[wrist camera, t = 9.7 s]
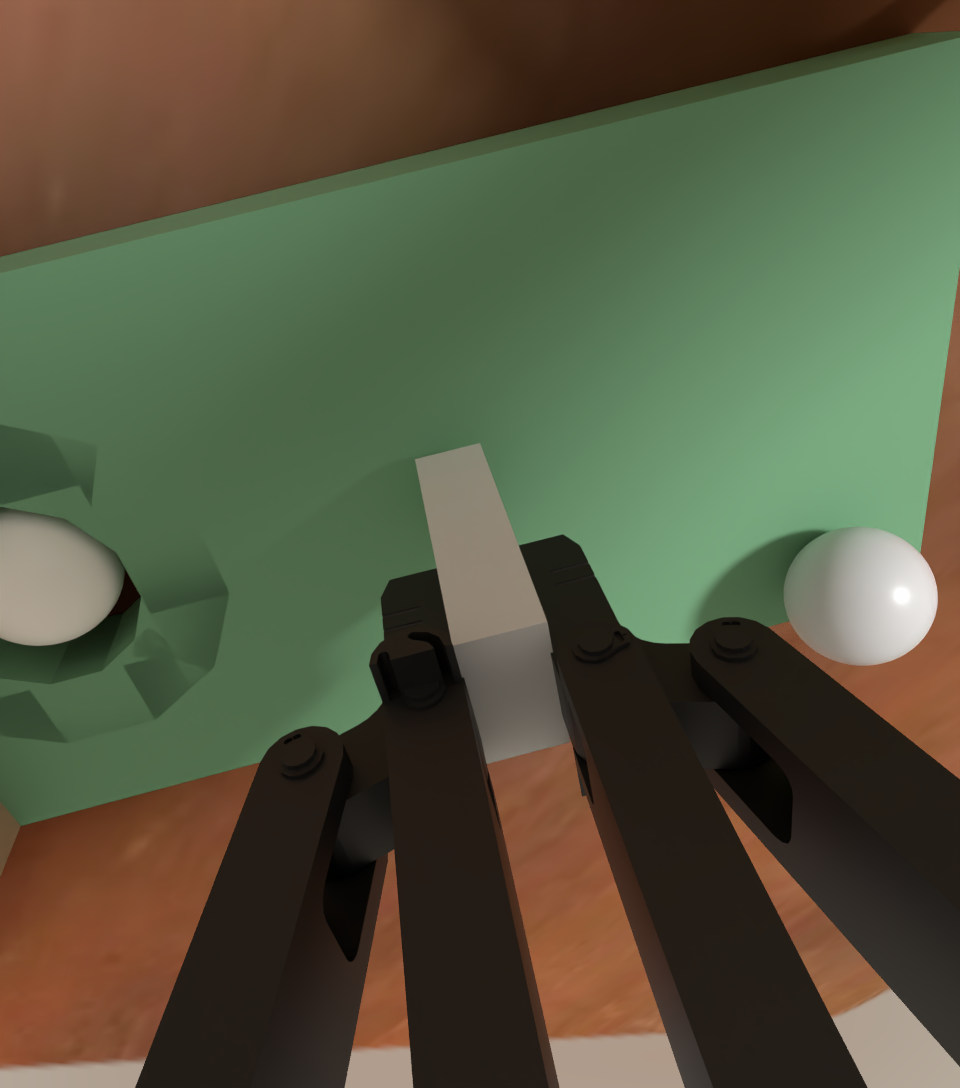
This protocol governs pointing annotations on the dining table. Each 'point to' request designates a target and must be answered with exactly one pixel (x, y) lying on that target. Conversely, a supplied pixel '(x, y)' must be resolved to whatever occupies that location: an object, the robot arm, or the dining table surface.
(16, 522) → the ball
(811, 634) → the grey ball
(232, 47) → the dining table surface
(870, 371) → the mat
